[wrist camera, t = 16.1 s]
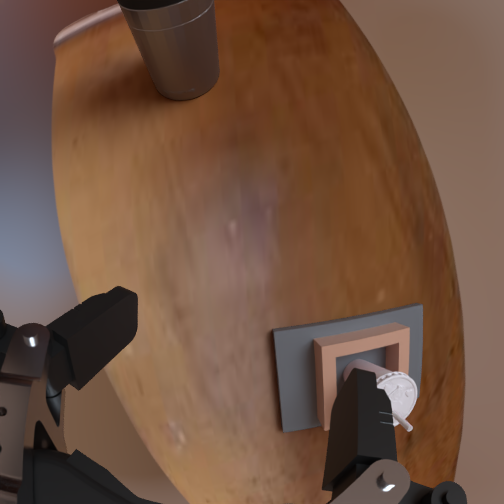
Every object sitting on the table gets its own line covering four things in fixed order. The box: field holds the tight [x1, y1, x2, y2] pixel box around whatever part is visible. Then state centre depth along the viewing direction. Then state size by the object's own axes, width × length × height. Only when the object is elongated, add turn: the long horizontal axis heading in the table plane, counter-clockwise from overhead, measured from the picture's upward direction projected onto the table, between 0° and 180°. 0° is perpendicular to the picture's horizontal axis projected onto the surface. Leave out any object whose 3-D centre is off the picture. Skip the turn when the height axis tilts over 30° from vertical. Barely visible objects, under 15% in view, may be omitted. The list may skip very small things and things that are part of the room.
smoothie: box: [343, 359, 417, 431], centre depth 26 cm, size 6×6×14 cm
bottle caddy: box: [272, 303, 423, 433], centre depth 32 cm, size 14×20×5 cm
